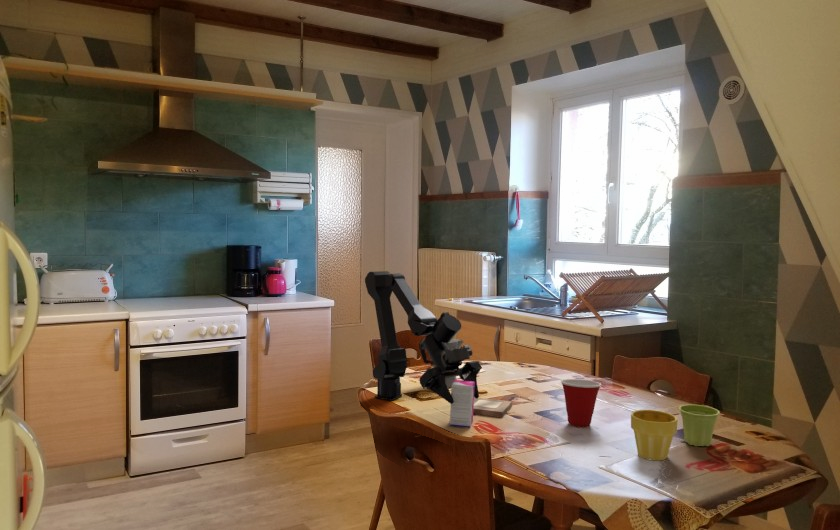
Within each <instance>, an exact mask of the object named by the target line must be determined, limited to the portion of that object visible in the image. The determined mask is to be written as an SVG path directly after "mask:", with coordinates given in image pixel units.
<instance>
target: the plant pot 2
mask: <svg viewBox="0 0 840 530" xmlns="http://www.w3.org/2000/svg"><path fill="white" fill-rule="evenodd" d="M678 410H679V411H680V416H681V419H682V428H683V437H684V438H683V439H684V442H685V443H688V445H690V446H692V445H694V447H697V446H702V447H709V446H711V443H712V438H713V434H714V430H715V429H714V428H715V425H716V421H717V419H718V416H719V415H720V414H721V413H720V410H718V409H717V408H714V407H712V406H708V405H703V404H701V405H700V404H683V405H680V406H679V408H678Z"/></svg>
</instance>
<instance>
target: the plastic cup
mask: <svg viewBox="0 0 840 530" xmlns="http://www.w3.org/2000/svg"><path fill="white" fill-rule="evenodd" d="M560 383H561V385H562V389H563V393H564V401H565V408H566V413H567V414H566V415H567V422H568V425H570V426H572V427H575V428H588V427H591V424H592V419H593V418H592V417H593V414H594V411H595V407H596V402H597V397H598V394H599V390H600V388H601V386H602V383H601V382H597V381H593V380H588V379H587V380H586V379H579V378H577V379H576V378H574V379H573V378H567V379H566V378H565V379H562V380H561V379H560Z"/></svg>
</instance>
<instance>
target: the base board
mask: <svg viewBox="0 0 840 530" xmlns="http://www.w3.org/2000/svg"><path fill="white" fill-rule="evenodd" d="M512 407H513V401H509V400H502V399H493V398H486V397H478V398H477V399H476V398H475V397H474V406H473V413H474V414H473V415H480V414H483V415H482V416H488V415H491V417H496V416H498V418H504V416H505V415H506V414H507V413H508V412H509V411H510V410H511V408H512ZM508 410H509V411H508ZM507 411H508V412H507Z"/></svg>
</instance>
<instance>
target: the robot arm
mask: <svg viewBox="0 0 840 530" xmlns="http://www.w3.org/2000/svg"><path fill="white" fill-rule="evenodd" d="M364 284H365V287H366V290H367V294H368V295H369V296H370V297H371V299H372V300H373V301H374V306H375V312H376V319H377V326H378V330H379V338H380V343H381V344H380V345H381V347H380V351H379V353H378V355H377V358H378V359H377V360H378V363H377V364H376V365H375V367H374V369H372V377H373V379H376V380H377V389H376V390H377V391H376V394H375V395H374V398H377V399H381V400H385V401H386V400H387V401H394V400H396V399H399V398H401V397H403V394H402V383H401V378H403V377H405V374H406V371H407V368H408V361H409V360H408V358H407V350H406V348H405V347H401V346H400V344H399V343H398V338H397V332H396V326H395V319H394V314H393V308H392V307H393V306H392V302H391V296H392V294H394V296H395V297H396V299H397V300H398V302H399V304H400V305H401V307H402V308H403V310H404V311H405V313H406V315H407V324H408V326H409V327H408V328H409V329H410V332H411V333H412V335H413V336H415V337H423V336H425V337H424V338H423V339H420V342H421V343H420V342H419V343H420V345H419V344H418V349H419V350H420V349H425V351H426V352H427V354H428V356H429V358H430V363H429V364H430V366H434V365H435V368H433V367H431V368H427V369H426V370H425V371H424V373H423V374H422V375H421V376H420V378H419V384H420V387H422V388H423V389H427V391H431V392H433V393H435V394H436V395H438V396H439V397H440V398H442V399H443V400H444V401H446V402H448V403H449V404H450V405H451V404H453V403H454V400H453V397H452V395H451V391H450V388H448V387H447V385H446V383H445V378H449V377H454V376H456V377H459V379H460V380H462V381H474V382H475V386H474V397H475V398H476V399H477V398H480V394H479V388H478V382H477V381H478V380H477V379H478V374H479V373H480V371H481V370H482V369H483V367H482V365H481V363H480V362H479V361H478V360H473V361H467V362H466V363H465V364H464V365H463V366H462V364H463V361H465V360H470V359H471V356H473V353H474V352H473V350H472V348H471V347H470V345H469V344H464V345H461V346H460V347H459V348H457V349H454V350H453V349H449V348H448V347H447V345H446V343H449V342H450V341H451V340H452V339H455V336H456V335H457V334H458V333H459V331H460V330H461V329H462V323H461V321H460V320H459V319H458V318H457V317H455V316H453V315H451V314H450V313H449V311H445V312H441V314H440V316H439V318H438V319H437V317H436V316H435V315H434V313H432V312H431V310H429V309H427V308H425V307H424V305H422V304H421V303H420V301H419V299H418V298H417V296H416V295H415V293H414V292H413V290H412V289H411V287H410V285H409V284H408V283H407V281H406V278H405V275H404V274H402V273H390V272H389V271H388V270H381V271H380V270H379V271H378V270H377V271H375V270H374V271H369V272H368V273H367V274H366V275H365V278H364ZM461 366H462V367H461Z"/></svg>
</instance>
